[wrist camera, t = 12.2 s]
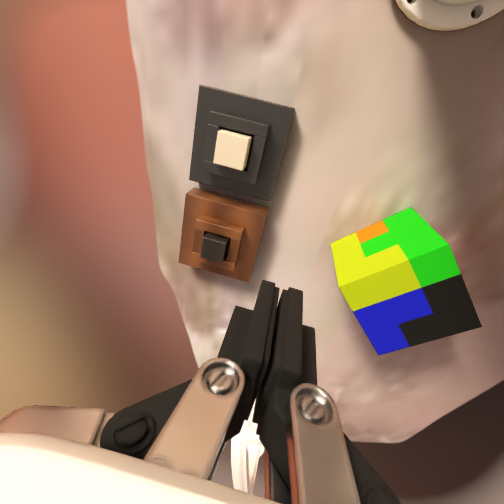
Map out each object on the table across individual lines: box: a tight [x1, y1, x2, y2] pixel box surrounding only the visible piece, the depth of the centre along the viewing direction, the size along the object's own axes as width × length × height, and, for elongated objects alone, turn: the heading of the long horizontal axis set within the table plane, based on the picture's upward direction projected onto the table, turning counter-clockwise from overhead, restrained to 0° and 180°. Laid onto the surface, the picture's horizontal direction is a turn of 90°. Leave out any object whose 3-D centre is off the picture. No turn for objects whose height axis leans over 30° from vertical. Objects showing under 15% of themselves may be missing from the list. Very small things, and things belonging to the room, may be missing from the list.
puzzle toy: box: [331, 207, 482, 355], centre depth 32 cm, size 10×10×10 cm
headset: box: [231, 399, 265, 494], centre depth 41 cm, size 20×7×18 cm, turn 1°
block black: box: [189, 85, 295, 201], centre depth 31 cm, size 10×10×4 cm
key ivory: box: [213, 130, 252, 171], centre depth 29 cm, size 3×3×2 cm
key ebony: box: [200, 233, 229, 263], centre depth 34 cm, size 3×3×2 cm
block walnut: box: [179, 188, 269, 282], centre depth 36 cm, size 10×10×4 cm
